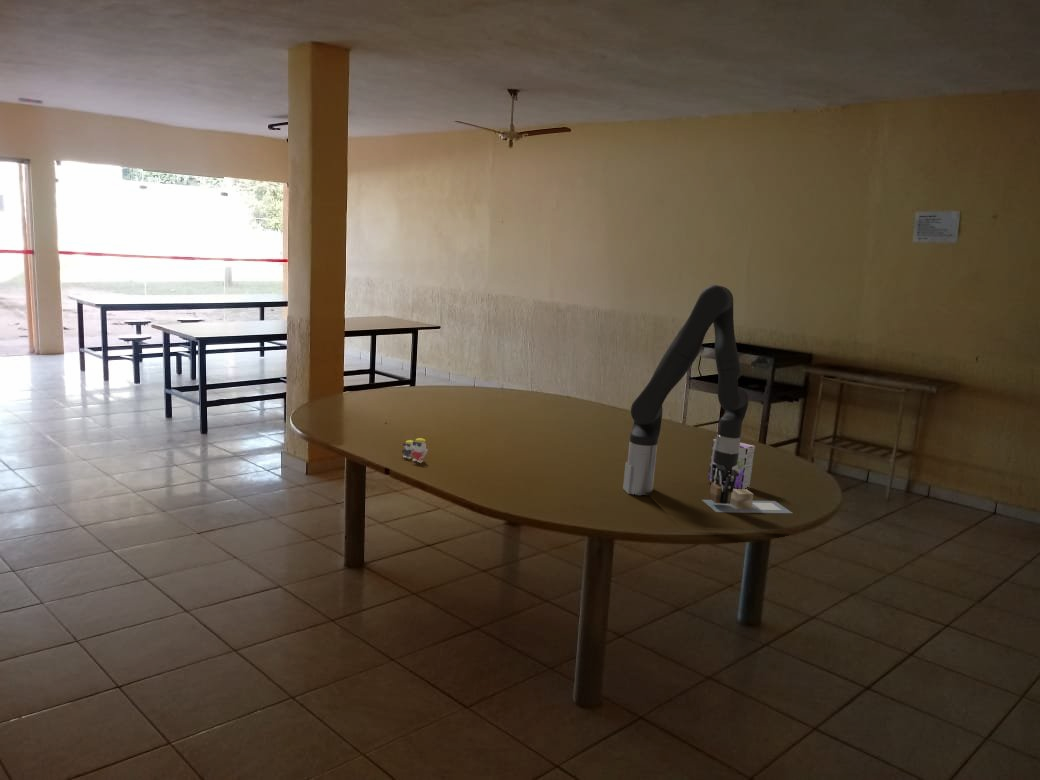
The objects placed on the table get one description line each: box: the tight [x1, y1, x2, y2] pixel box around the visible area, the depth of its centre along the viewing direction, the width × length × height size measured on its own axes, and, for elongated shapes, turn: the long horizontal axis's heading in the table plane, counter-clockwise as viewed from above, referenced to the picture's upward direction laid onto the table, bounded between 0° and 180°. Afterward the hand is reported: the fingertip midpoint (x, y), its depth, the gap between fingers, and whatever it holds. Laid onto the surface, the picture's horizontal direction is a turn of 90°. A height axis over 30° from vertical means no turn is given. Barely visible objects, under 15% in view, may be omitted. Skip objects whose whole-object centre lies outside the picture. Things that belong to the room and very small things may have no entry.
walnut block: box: [709, 483, 732, 504], centre depth 254 cm, size 5×5×5 cm
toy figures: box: [401, 437, 429, 464], centre depth 286 cm, size 12×4×8 cm, turn 46°
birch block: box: [730, 488, 754, 509], centre depth 255 cm, size 5×5×5 cm
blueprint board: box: [701, 499, 793, 514], centre depth 256 cm, size 26×12×1 cm, turn 100°
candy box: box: [707, 438, 756, 489], centre depth 280 cm, size 14×6×16 cm, turn 45°
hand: (719, 500), depth 254 cm, fingers closed on walnut block, 5 cm apart
